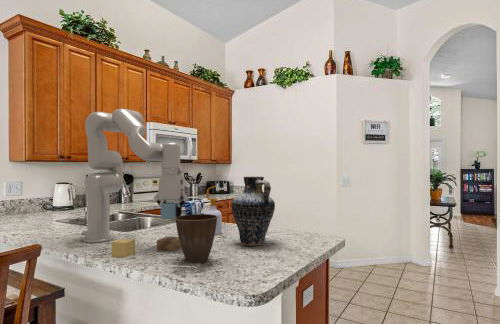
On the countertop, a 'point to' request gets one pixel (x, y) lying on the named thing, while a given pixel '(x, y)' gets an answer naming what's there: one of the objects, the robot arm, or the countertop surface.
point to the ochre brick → (123, 247)
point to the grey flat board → (162, 251)
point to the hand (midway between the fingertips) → (171, 216)
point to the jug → (253, 211)
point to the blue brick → (168, 210)
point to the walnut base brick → (168, 244)
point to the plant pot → (196, 236)
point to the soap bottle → (215, 213)
